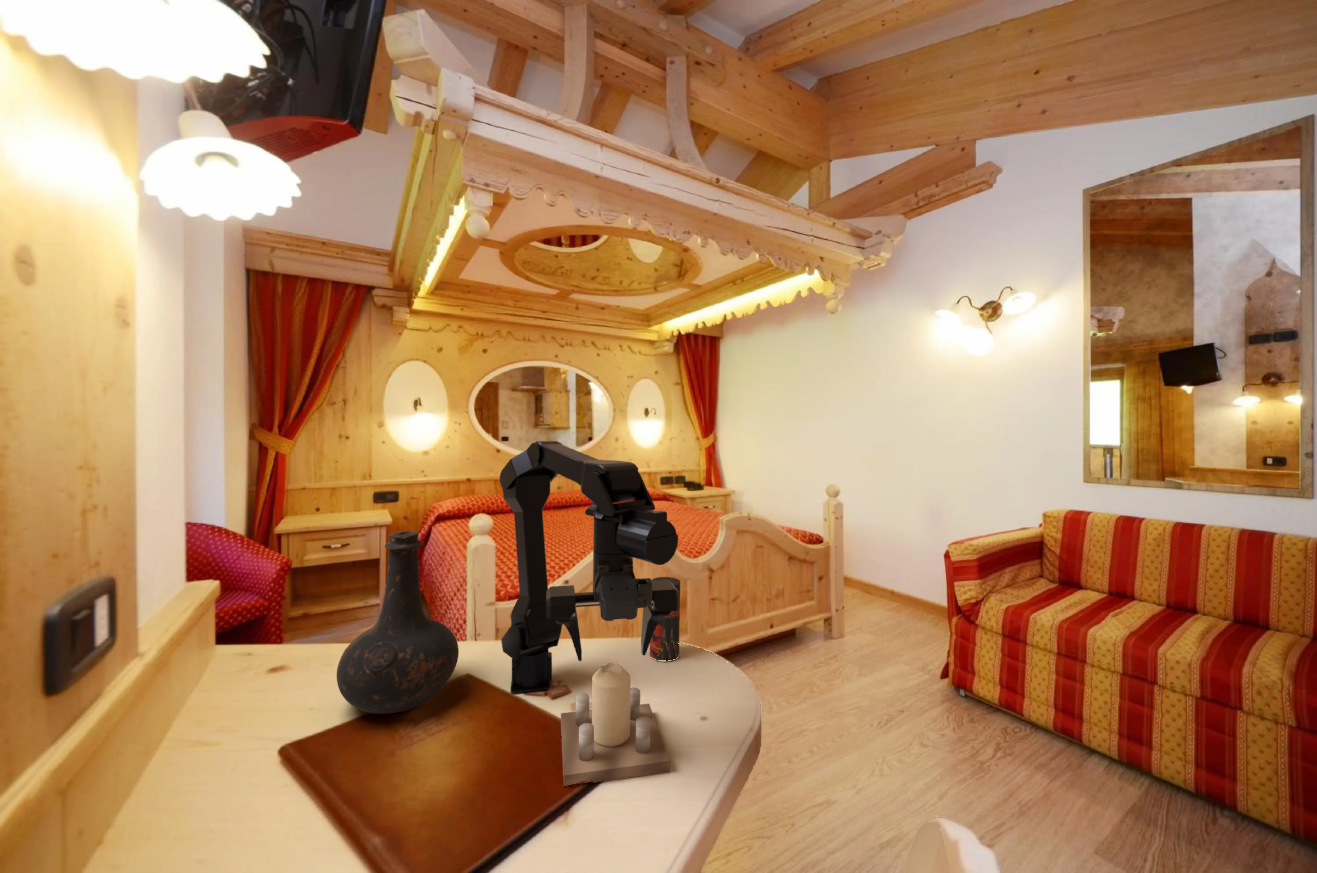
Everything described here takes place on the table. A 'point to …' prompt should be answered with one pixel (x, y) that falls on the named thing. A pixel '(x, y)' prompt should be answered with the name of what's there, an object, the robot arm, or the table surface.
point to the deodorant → (666, 631)
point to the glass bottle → (398, 643)
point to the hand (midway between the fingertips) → (612, 657)
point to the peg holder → (615, 762)
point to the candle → (611, 705)
